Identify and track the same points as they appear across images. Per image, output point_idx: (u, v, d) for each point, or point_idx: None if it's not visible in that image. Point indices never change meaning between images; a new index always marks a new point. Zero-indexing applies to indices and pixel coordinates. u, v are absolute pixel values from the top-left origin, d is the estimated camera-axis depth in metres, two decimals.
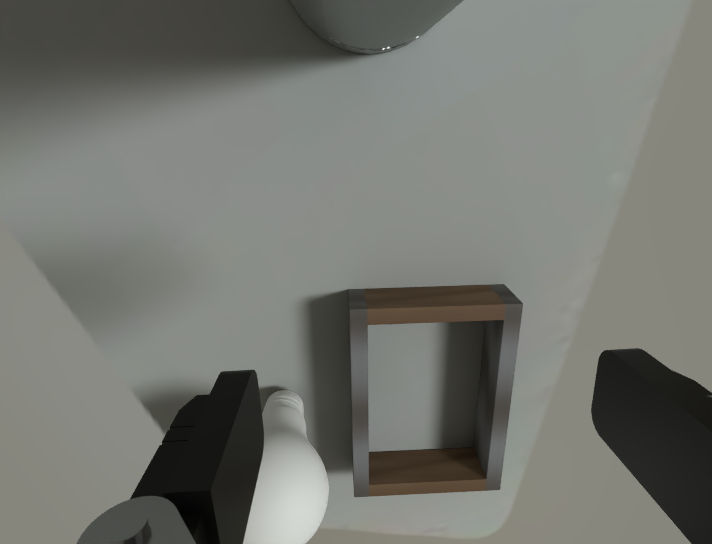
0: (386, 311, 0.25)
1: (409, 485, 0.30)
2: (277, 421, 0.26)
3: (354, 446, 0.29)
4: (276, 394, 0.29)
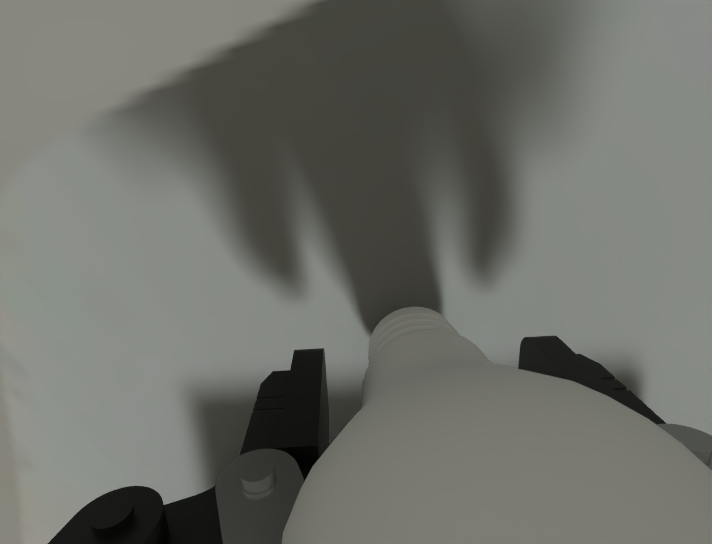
0: None
1: None
2: None
3: None
4: None
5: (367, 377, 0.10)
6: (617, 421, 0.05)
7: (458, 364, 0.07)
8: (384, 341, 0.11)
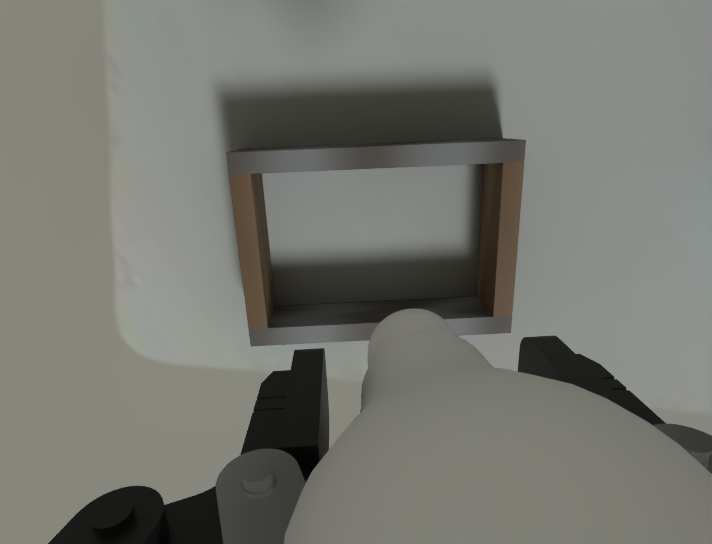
0: (518, 184, 0.21)
1: (252, 231, 0.22)
2: None
3: (318, 150, 0.21)
4: None
5: (366, 380, 0.10)
6: (617, 425, 0.05)
7: (457, 367, 0.07)
8: (383, 343, 0.11)
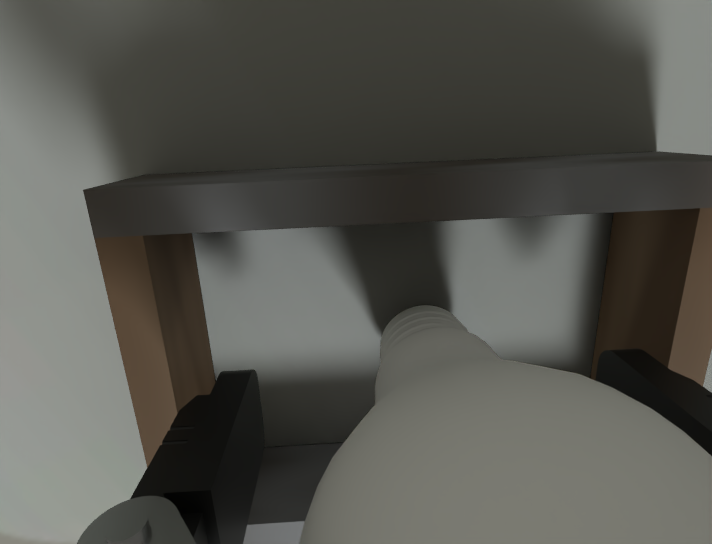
0: None
1: (155, 352, 0.10)
2: None
3: (295, 184, 0.09)
4: None
5: (380, 374, 0.10)
6: (621, 410, 0.05)
7: (468, 360, 0.08)
8: (395, 339, 0.11)
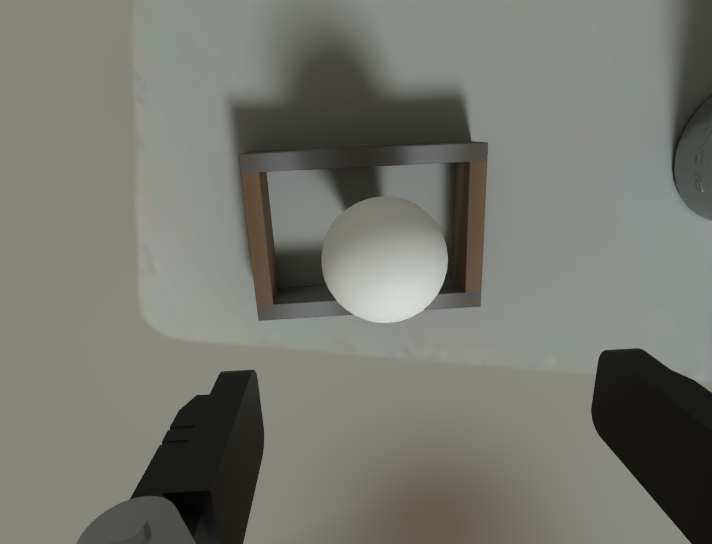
0: (482, 180, 0.26)
1: (259, 220, 0.26)
2: None
3: (316, 152, 0.25)
4: None
5: None
6: (402, 199, 0.21)
7: None
8: None
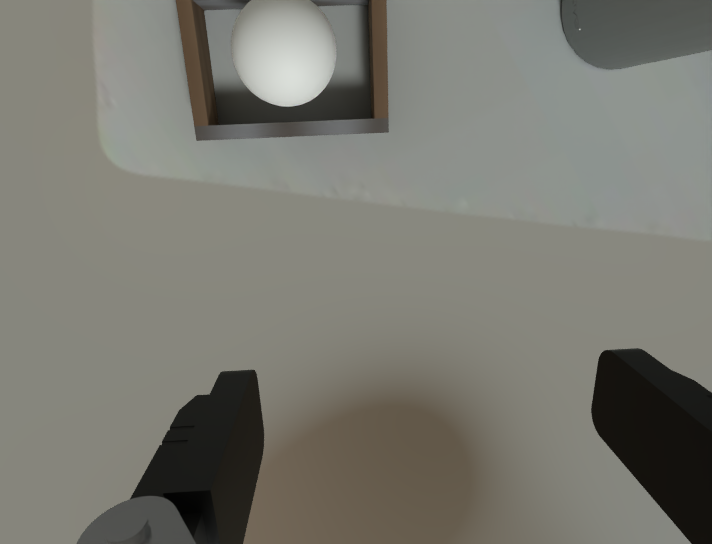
0: (383, 10, 0.30)
1: (193, 44, 0.30)
2: None
3: None
4: None
5: None
6: None
7: None
8: None
